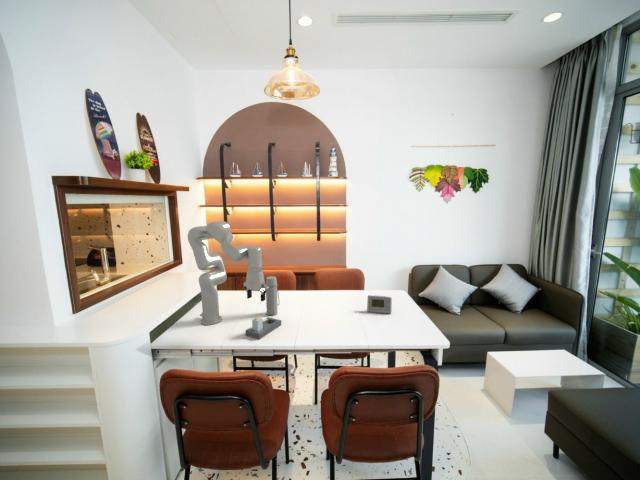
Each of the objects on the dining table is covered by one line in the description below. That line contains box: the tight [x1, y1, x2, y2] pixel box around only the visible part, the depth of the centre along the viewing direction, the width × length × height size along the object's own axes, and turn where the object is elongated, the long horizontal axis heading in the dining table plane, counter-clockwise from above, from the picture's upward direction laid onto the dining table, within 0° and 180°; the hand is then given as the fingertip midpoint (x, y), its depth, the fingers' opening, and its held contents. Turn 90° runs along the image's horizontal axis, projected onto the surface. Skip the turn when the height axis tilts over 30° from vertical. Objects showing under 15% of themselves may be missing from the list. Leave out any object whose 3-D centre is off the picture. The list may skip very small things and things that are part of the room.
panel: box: [244, 316, 282, 340], centre depth 159 cm, size 10×20×3 cm, turn 152°
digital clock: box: [366, 294, 393, 315], centre depth 184 cm, size 16×9×11 cm, turn 64°
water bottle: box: [265, 275, 280, 317], centre depth 182 cm, size 9×8×25 cm
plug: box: [251, 316, 263, 332], centre depth 154 cm, size 4×4×10 cm
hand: (256, 299), depth 152 cm, fingers open, 9 cm apart
